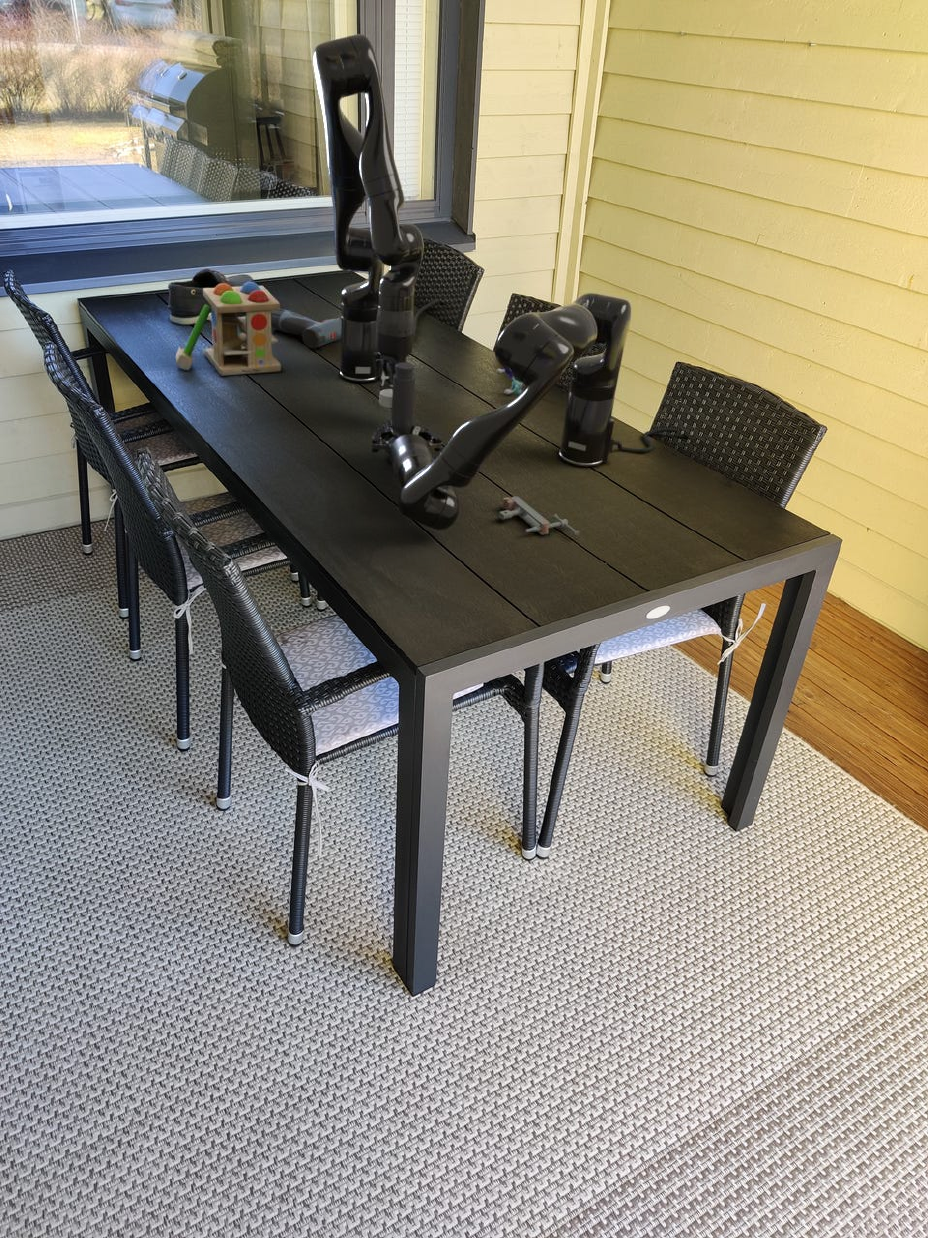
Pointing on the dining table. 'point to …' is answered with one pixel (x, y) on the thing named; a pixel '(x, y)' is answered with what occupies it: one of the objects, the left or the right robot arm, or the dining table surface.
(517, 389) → the molecular model
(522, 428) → the dining table surface
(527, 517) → the clamp
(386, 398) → the lid
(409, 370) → the bottle
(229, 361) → the pounding bench toy
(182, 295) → the boat shoe
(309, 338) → the power drill
